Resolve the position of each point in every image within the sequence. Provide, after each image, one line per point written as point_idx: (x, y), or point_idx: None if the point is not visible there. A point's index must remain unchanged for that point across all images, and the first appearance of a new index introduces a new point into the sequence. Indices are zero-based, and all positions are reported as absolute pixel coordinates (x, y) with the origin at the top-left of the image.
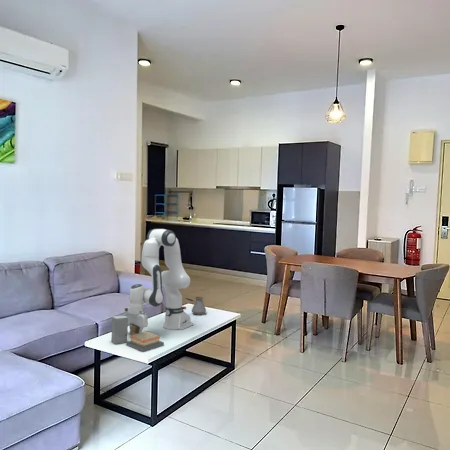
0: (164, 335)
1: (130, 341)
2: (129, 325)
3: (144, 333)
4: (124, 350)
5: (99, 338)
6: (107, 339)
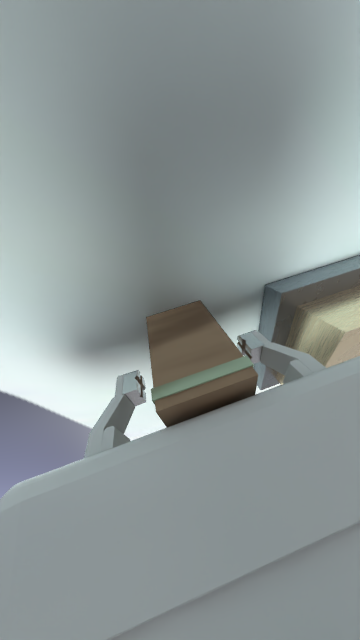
0: (339, 12)
1: (268, 378)
2: (127, 423)
3: (350, 355)
4: (280, 384)
5: (128, 437)
6: (153, 420)
